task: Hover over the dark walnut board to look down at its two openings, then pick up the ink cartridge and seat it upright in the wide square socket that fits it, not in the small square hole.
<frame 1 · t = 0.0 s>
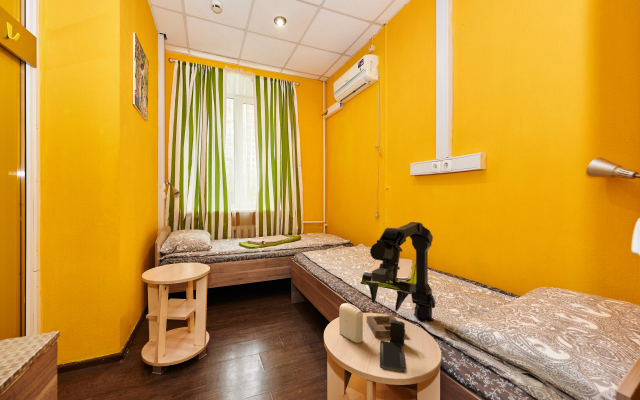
hand: (384, 306, 90), 15 cm above the table, tool pointing down, fingers open, 9 cm apart
slot board: (384, 328, 104), on the table
ink cartridge: (397, 343, 94), on the table
phone: (391, 358, 86), on the table
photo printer: (350, 337, 98), on the table
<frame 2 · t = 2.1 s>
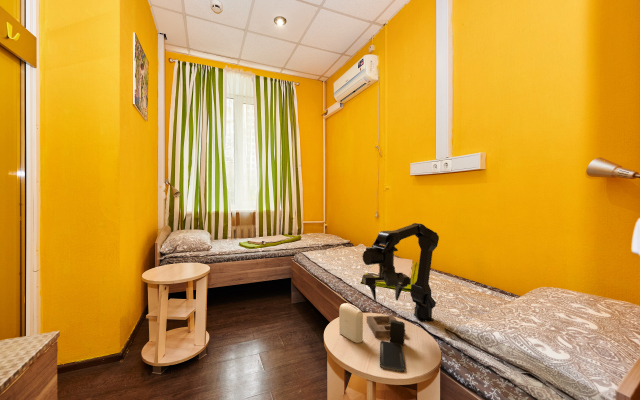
hand: (385, 300, 104), 12 cm above the table, tool pointing down, fingers open, 9 cm apart
nothing on the table moved.
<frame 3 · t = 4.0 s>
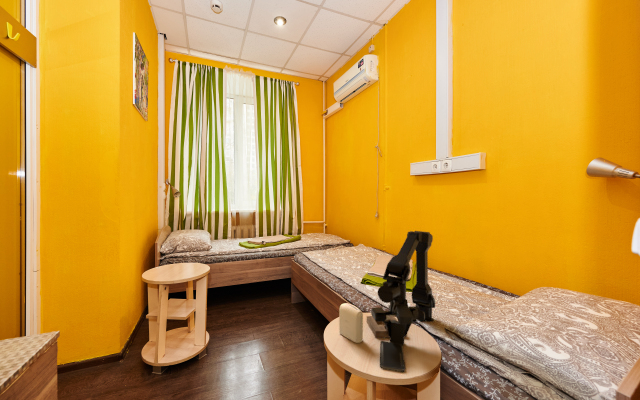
hand: (397, 336, 94), 3 cm above the table, tool pointing down, fingers closed on ink cartridge, 5 cm apart
ink cartridge: (397, 343, 94), on the table, touching gripper
everything else where it was.
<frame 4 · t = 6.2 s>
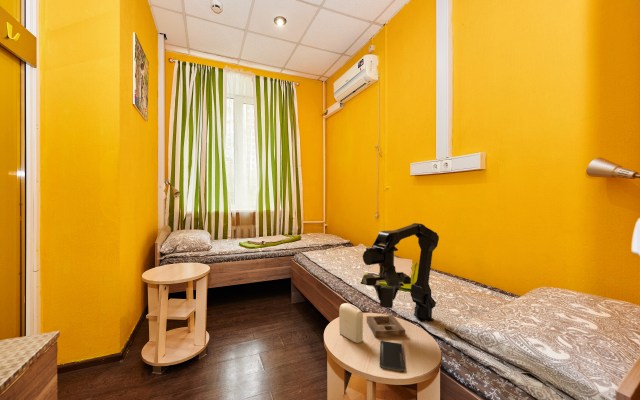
hand: (386, 299, 104), 12 cm above the table, tool pointing down, fingers closed on ink cartridge, 5 cm apart
ink cartridge: (386, 306, 104), point 9 cm above the table, touching gripper
everything else where it was.
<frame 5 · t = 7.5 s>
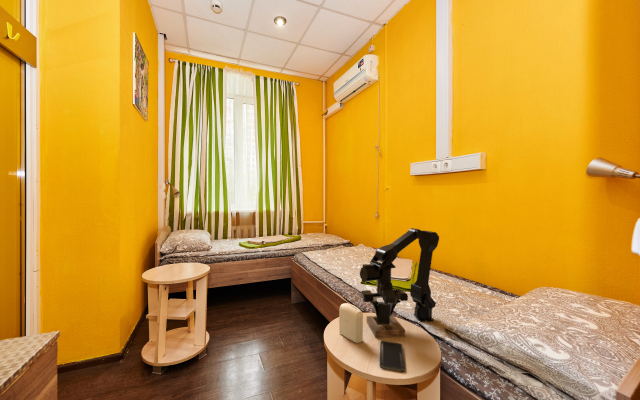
hand: (383, 315, 106), 5 cm above the table, tool pointing down, fingers closed on ink cartridge, 5 cm apart
ink cartridge: (383, 322, 106), point 2 cm above the table, touching gripper
everything else where it was.
when the fingers open (3 cm above the table, at t = 8.5 s): ink cartridge stays where it is, resting in slot board.
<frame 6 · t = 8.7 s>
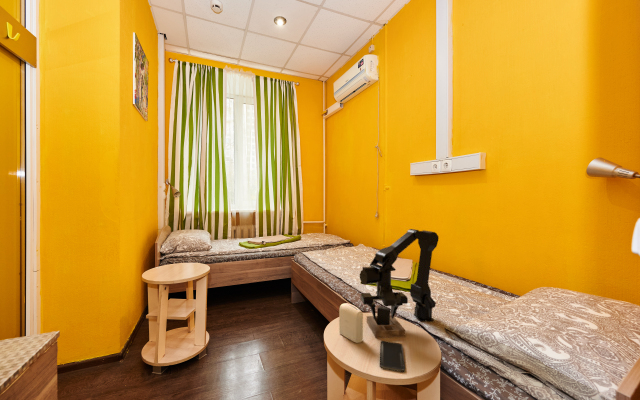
hand: (383, 318, 106), 3 cm above the table, tool pointing down, fingers open, 7 cm apart
ink cartridge: (383, 327, 106), resting in slot board
everything else where it was.
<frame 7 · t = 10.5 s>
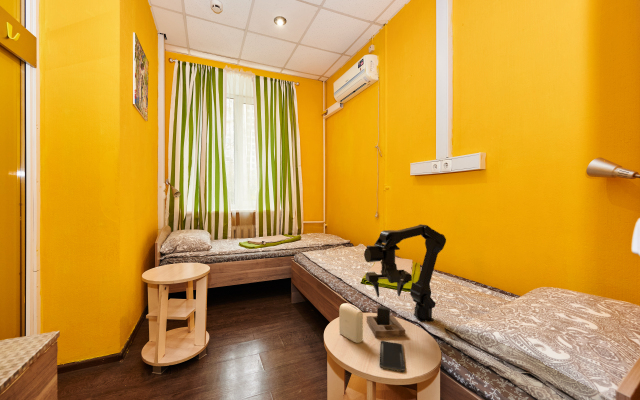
hand: (388, 296, 109), 12 cm above the table, tool pointing down, fingers open, 9 cm apart
nothing on the table moved.
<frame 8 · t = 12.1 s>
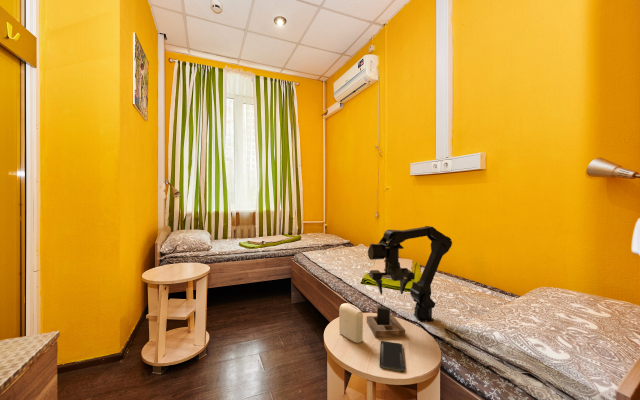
hand: (391, 294, 111), 12 cm above the table, tool pointing down, fingers open, 9 cm apart
nothing on the table moved.
at the end: ink cartridge 0.1 cm from the target spot on the slot board, point 0.0 cm above the slot board's base; ink cartridge tilted 0°; the gripper is holding nothing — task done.
